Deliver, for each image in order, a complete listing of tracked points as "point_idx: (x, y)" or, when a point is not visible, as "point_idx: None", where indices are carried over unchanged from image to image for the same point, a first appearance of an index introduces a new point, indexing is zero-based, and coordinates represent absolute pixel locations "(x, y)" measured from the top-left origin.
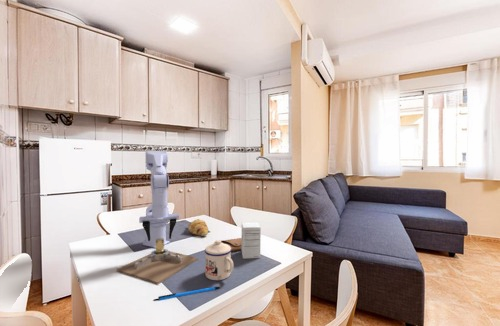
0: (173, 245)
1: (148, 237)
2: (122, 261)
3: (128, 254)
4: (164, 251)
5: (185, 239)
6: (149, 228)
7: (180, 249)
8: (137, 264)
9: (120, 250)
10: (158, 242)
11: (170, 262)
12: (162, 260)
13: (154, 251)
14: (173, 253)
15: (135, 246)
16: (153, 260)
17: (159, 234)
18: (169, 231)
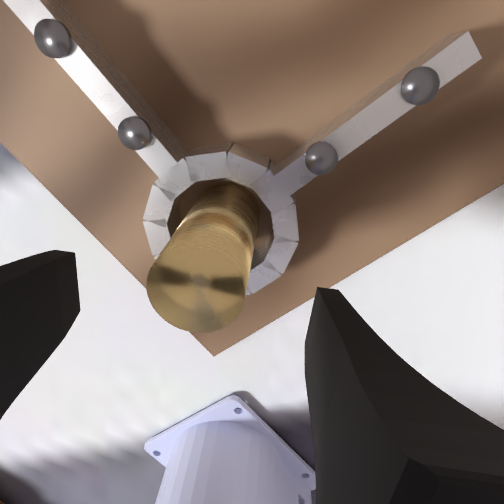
0: (123, 390)
1: (346, 308)
2: (494, 287)
3: None
4: None
5: (44, 444)
6: (351, 430)
7: None
8: (453, 40)
9: None
10: (217, 242)
11: (143, 48)
12: (210, 132)
13: (264, 265)
14: (118, 235)
15: None
16: (283, 159)
17: (199, 500)
18: (27, 352)
